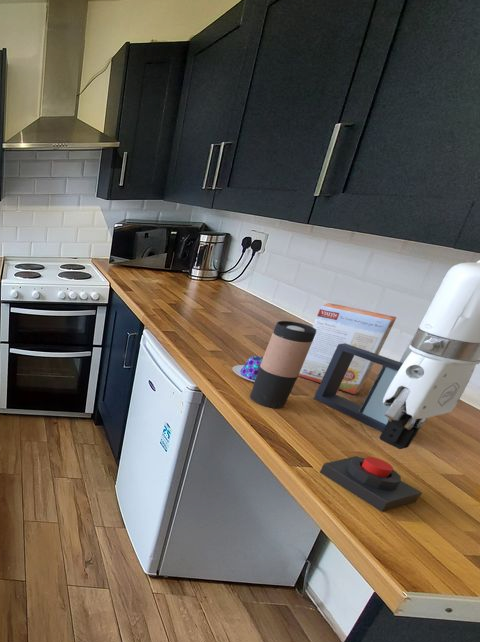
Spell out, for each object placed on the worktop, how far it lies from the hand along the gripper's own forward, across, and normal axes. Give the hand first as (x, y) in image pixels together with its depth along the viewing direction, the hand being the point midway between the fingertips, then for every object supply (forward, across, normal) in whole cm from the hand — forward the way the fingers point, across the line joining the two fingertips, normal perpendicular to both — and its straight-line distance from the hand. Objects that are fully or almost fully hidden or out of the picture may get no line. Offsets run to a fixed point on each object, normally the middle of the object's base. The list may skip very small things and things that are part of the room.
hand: (392, 443), depth 69 cm
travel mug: (+10, +10, +28) cm, 32 cm away
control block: (+10, 0, 0) cm, 10 cm away
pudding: (+10, +20, +39) cm, 45 cm away
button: (+6, 0, 0) cm, 6 cm away
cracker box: (+10, +38, +32) cm, 50 cm away
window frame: (+10, +26, +17) cm, 33 cm away
